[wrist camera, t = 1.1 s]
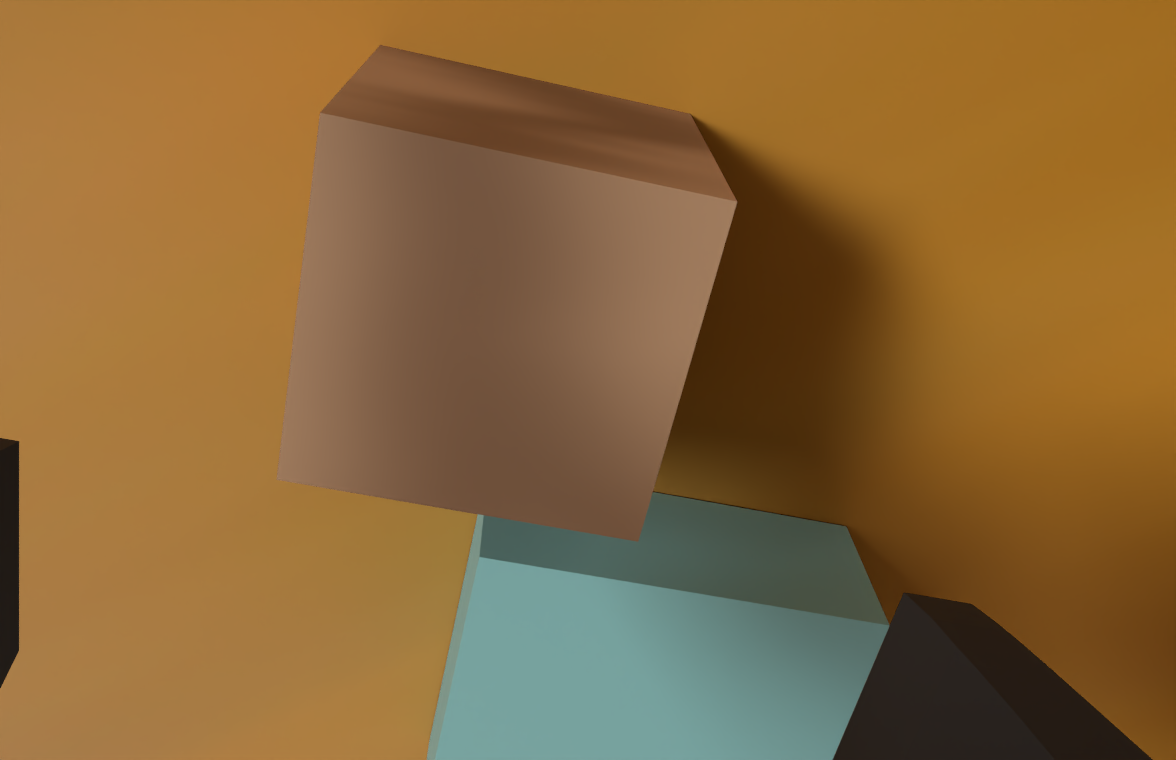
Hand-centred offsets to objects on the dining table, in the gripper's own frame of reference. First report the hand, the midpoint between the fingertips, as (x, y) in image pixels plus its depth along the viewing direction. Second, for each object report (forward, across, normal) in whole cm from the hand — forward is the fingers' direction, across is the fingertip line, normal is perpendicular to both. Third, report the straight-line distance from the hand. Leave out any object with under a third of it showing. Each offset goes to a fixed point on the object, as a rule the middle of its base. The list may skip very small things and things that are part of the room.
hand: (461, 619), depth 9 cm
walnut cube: (+10, 0, 0) cm, 10 cm away
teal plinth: (+10, -4, +8) cm, 14 cm away
